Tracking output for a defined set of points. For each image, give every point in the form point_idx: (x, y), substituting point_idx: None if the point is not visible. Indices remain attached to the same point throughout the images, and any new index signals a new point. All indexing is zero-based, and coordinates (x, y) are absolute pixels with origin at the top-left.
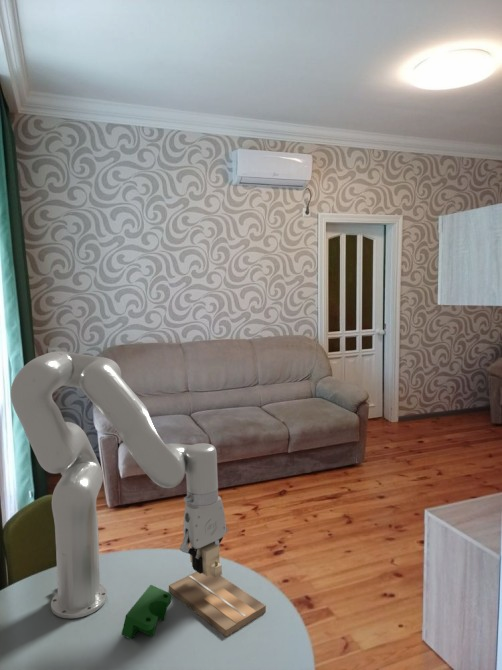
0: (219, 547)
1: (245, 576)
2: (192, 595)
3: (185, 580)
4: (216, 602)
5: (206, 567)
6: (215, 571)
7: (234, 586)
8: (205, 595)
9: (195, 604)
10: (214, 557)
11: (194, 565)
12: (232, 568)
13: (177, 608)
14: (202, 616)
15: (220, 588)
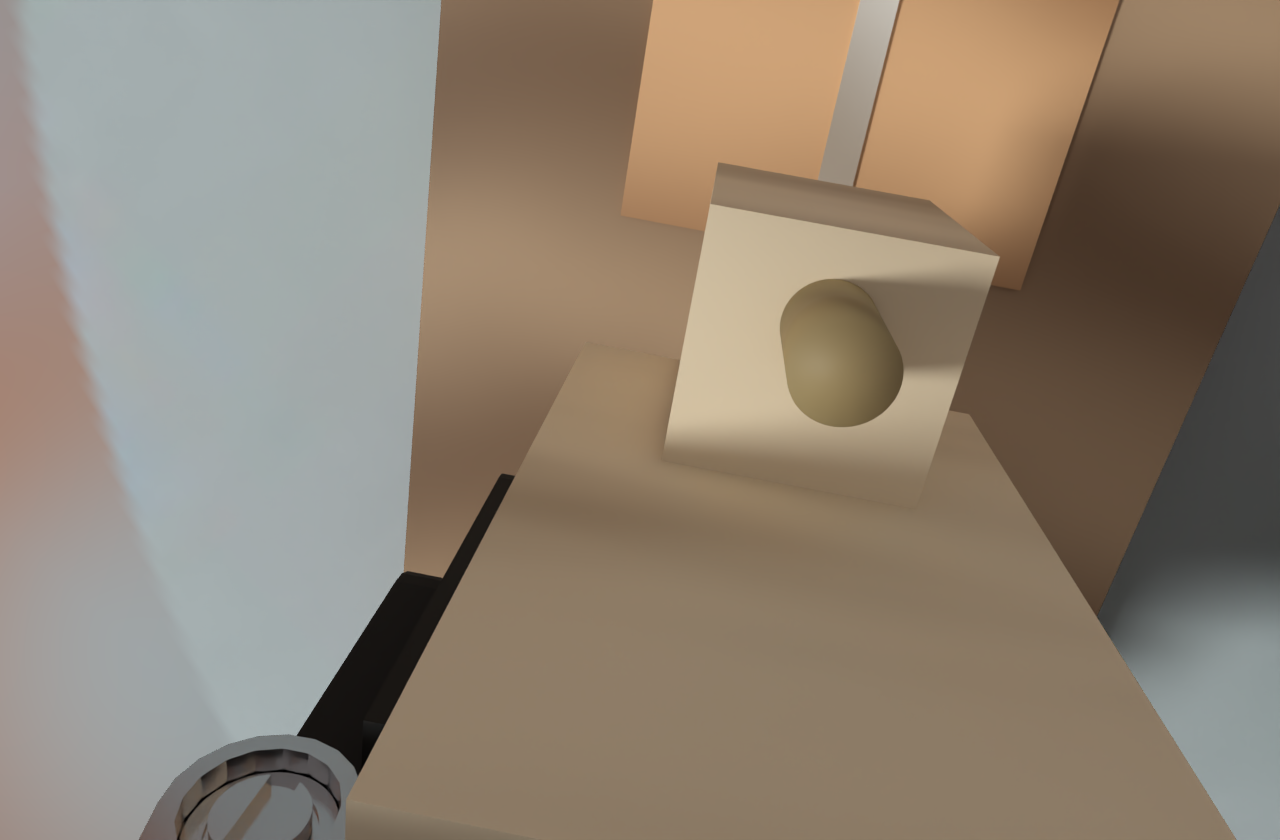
0: (222, 747)
1: (127, 198)
2: (1032, 465)
3: None
4: (1005, 22)
5: (1036, 524)
6: (961, 229)
7: (467, 78)
8: None
9: (1215, 286)
10: (727, 560)
11: None
12: (147, 451)
13: (1237, 492)
14: None
15: (650, 234)
